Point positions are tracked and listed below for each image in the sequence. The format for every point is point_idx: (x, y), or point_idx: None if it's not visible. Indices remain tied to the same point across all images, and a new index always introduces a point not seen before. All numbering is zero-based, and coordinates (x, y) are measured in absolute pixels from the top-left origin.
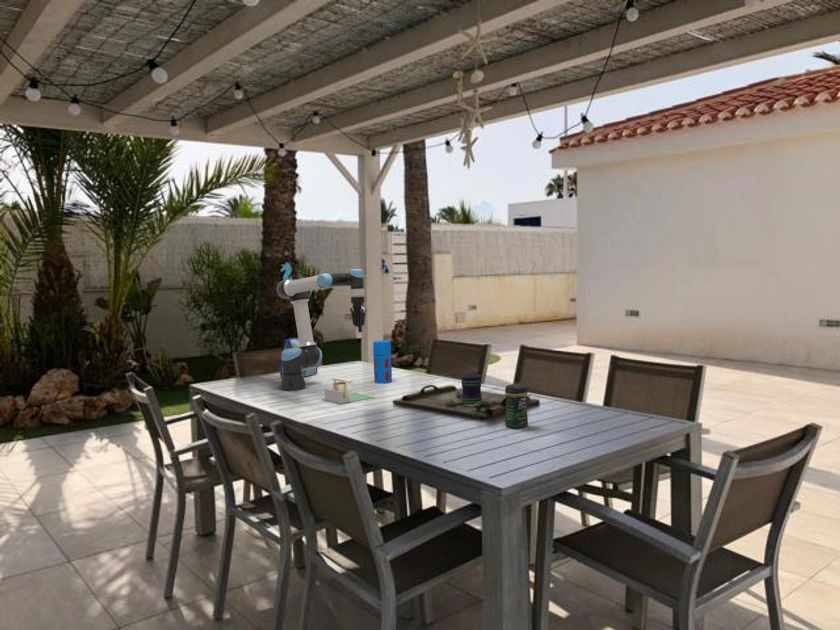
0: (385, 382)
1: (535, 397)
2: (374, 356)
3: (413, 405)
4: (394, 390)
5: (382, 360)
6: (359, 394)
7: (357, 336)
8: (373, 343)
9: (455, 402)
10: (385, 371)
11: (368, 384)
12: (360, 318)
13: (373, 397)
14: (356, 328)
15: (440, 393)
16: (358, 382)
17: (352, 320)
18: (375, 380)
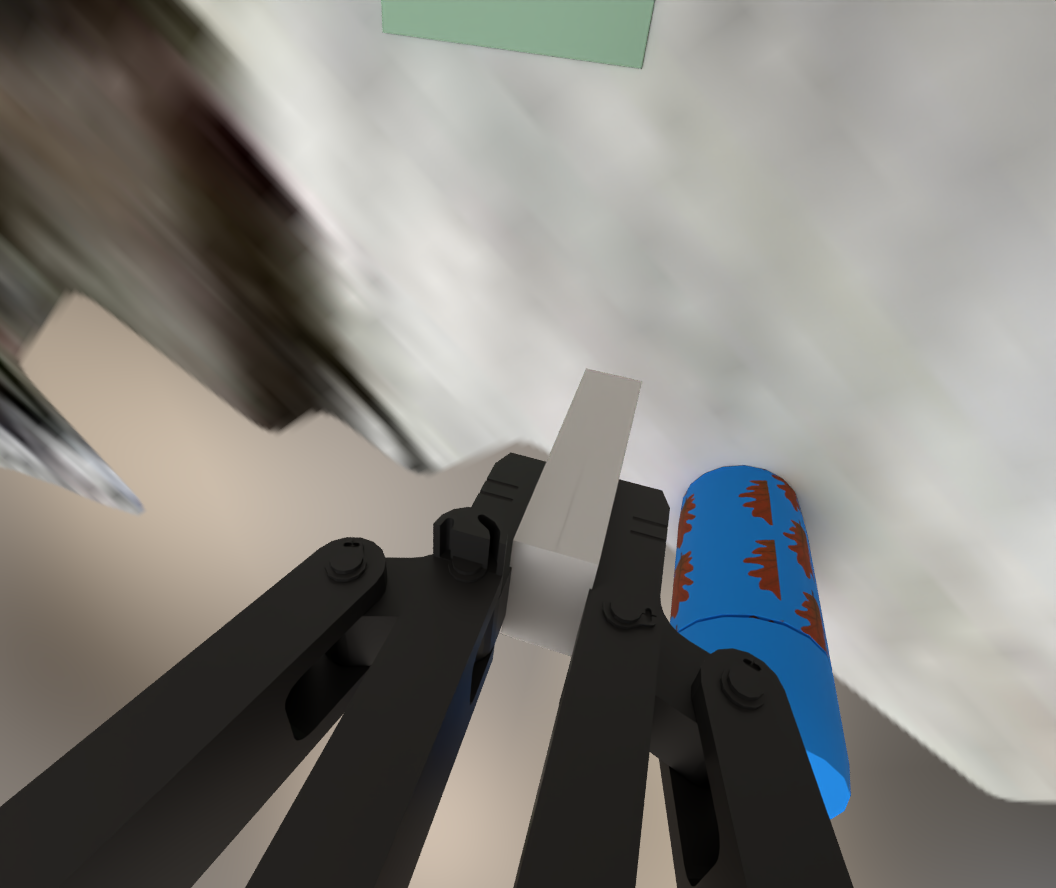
0: (694, 485)
1: (11, 447)
2: (784, 614)
3: (31, 2)
4: (482, 328)
5: (699, 586)
6: (556, 35)
7: (594, 389)
8: (816, 738)
9: (26, 224)
10: (688, 534)
11: (789, 418)
12: (142, 778)
13: (383, 20)
14: (587, 517)
15: (246, 370)
16: (922, 451)
17: (847, 879)
18: (768, 480)
